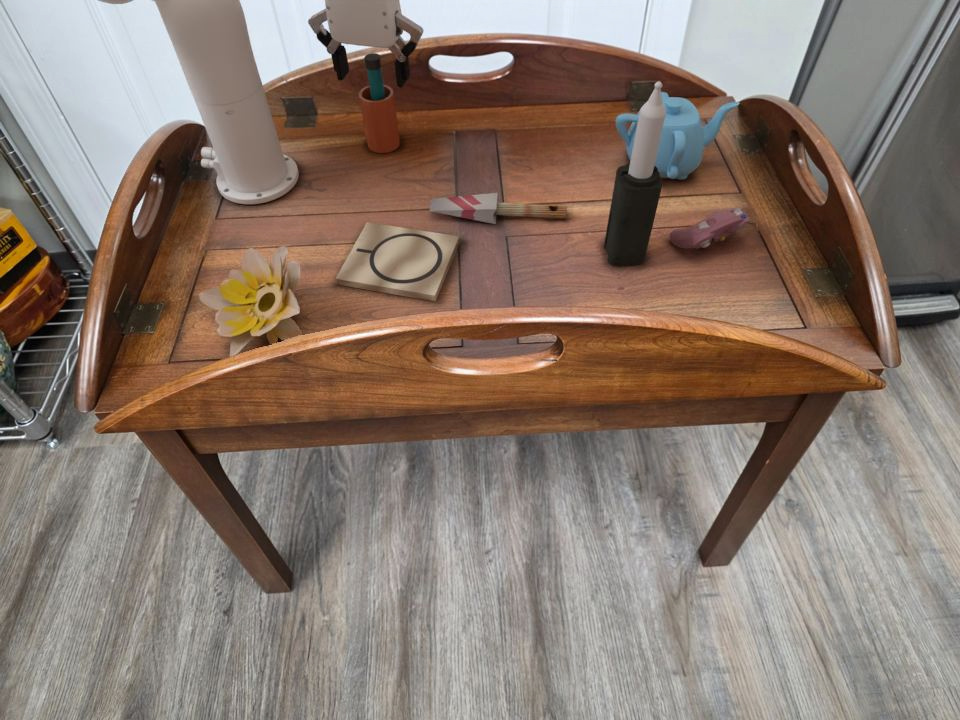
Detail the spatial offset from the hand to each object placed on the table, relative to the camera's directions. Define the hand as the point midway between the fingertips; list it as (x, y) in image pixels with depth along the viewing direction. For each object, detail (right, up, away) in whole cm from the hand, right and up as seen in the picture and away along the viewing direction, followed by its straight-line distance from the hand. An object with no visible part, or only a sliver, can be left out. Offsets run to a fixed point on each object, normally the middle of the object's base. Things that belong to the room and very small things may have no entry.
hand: (373, 79), depth 100 cm
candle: (+37, -28, -9) cm, 47 cm away
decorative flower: (-12, -38, -15) cm, 43 cm away
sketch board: (+5, -30, -9) cm, 32 cm away
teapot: (+46, -12, +4) cm, 48 cm away
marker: (+1, -6, +8) cm, 11 cm away
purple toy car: (+48, -27, -8) cm, 56 cm away
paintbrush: (+19, -22, -3) cm, 29 cm away
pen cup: (0, -7, +9) cm, 11 cm away
